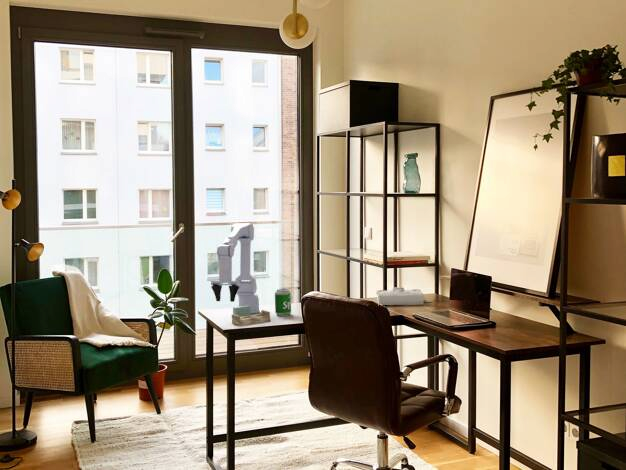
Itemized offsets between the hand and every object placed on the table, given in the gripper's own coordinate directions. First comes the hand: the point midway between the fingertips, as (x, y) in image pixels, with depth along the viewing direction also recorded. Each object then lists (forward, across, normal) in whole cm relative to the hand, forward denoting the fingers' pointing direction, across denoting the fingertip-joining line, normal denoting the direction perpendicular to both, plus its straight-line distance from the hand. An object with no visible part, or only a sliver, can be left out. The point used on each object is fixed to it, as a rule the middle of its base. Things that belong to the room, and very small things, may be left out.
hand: (225, 301), depth 319 cm
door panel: (+9, 0, +14) cm, 17 cm away
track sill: (+10, +8, +10) cm, 16 cm away
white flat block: (+4, +57, +77) cm, 96 cm away
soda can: (+8, +14, +29) cm, 33 cm away
